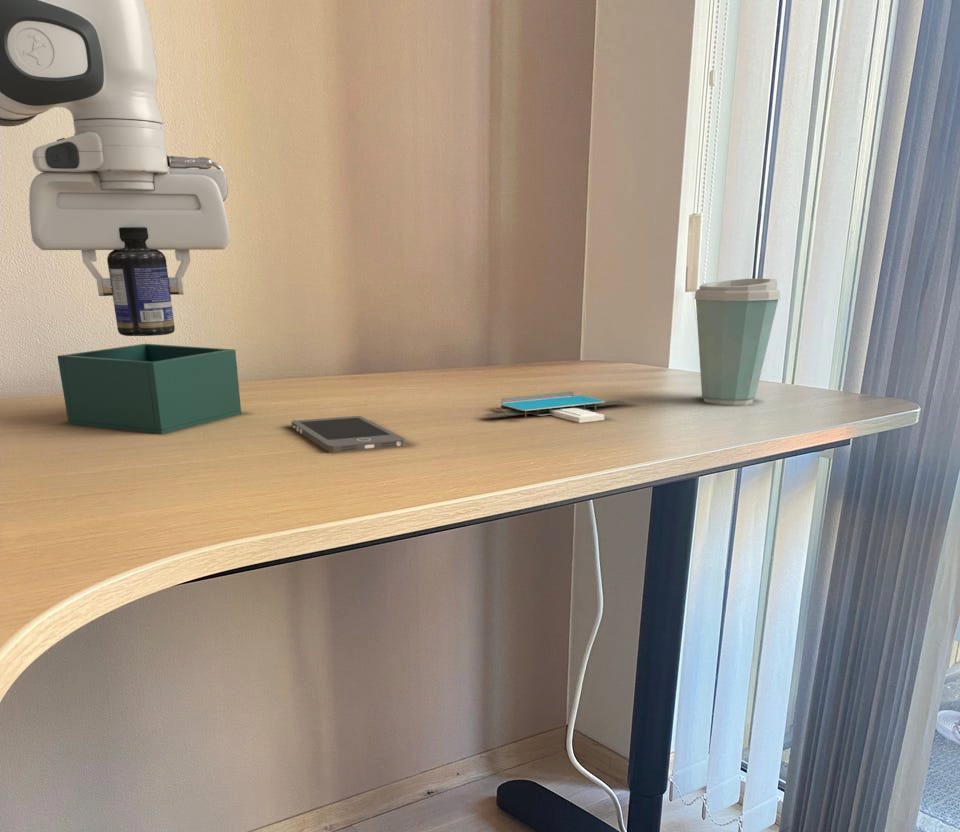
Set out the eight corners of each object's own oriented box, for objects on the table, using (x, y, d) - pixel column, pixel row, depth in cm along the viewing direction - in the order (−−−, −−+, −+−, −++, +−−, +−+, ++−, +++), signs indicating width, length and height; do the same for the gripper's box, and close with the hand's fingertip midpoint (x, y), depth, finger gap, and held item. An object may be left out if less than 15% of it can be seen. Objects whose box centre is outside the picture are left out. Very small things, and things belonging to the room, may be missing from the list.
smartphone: (289, 427, 107) (288, 420, 106) (359, 421, 110) (359, 415, 110) (329, 453, 94) (328, 446, 94) (406, 446, 97) (406, 439, 97)
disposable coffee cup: (724, 412, 117) (737, 281, 111) (667, 399, 126) (676, 278, 120) (786, 405, 122) (802, 279, 116) (727, 393, 131) (739, 276, 125)
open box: (68, 425, 108) (57, 355, 105) (153, 406, 119) (145, 343, 116) (162, 435, 103) (152, 362, 100) (241, 415, 114) (235, 349, 111)
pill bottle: (181, 331, 110) (168, 227, 106) (167, 336, 104) (154, 227, 100) (126, 331, 110) (112, 227, 105) (110, 337, 104) (94, 226, 100)
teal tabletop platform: (519, 431, 106) (520, 416, 105) (464, 414, 115) (464, 400, 114) (657, 414, 115) (658, 400, 115) (596, 400, 125) (597, 387, 124)
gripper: (221, 159, 106) (233, 291, 112) (20, 154, 100) (43, 295, 105) (228, 155, 101) (240, 295, 106) (15, 150, 94) (40, 298, 100)
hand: (141, 295), depth 105 cm, fingers closed on pill bottle, 6 cm apart
